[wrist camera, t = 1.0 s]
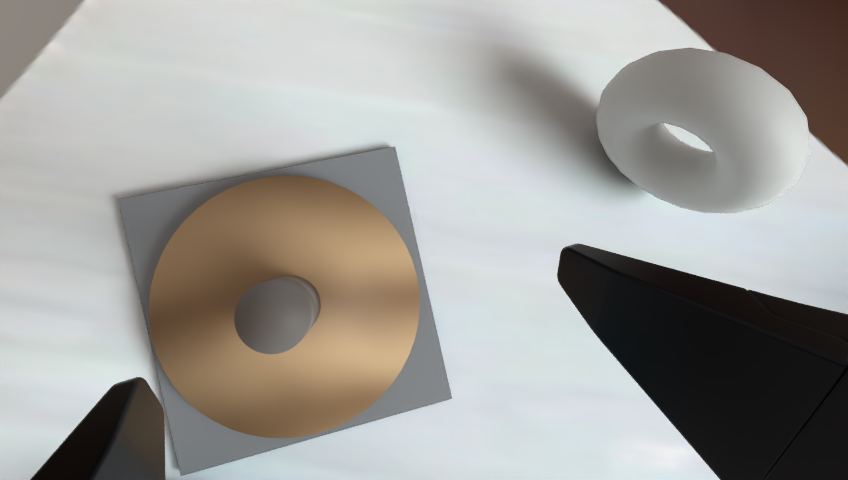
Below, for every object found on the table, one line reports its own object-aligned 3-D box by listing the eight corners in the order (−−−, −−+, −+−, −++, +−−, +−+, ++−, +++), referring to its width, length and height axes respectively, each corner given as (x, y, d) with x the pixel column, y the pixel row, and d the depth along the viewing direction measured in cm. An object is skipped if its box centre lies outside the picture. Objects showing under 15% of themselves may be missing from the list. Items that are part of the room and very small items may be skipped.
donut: (554, 124, 25) (673, 43, 16) (588, 86, 26) (725, -17, 16) (663, 232, 26) (841, 220, 16) (695, 193, 27) (887, 159, 17)
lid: (441, 392, 23) (460, 428, 19) (189, 464, 22) (138, 524, 17) (388, 156, 23) (393, 132, 19) (130, 207, 22) (63, 194, 17)
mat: (450, 395, 24) (451, 398, 24) (185, 470, 22) (180, 476, 21) (394, 148, 24) (395, 146, 24) (123, 200, 22) (117, 199, 21)
